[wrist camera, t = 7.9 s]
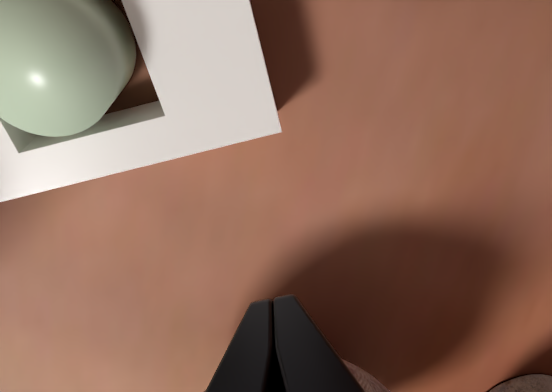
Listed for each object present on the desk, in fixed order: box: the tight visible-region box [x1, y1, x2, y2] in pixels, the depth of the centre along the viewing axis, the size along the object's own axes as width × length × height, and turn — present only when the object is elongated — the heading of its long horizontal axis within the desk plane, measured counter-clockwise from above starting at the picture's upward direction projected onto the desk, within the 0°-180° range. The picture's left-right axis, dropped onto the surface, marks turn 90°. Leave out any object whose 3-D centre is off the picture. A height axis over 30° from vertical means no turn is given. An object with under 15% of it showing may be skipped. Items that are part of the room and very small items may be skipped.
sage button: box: [0, 0, 136, 137], centre depth 14 cm, size 4×4×3 cm
